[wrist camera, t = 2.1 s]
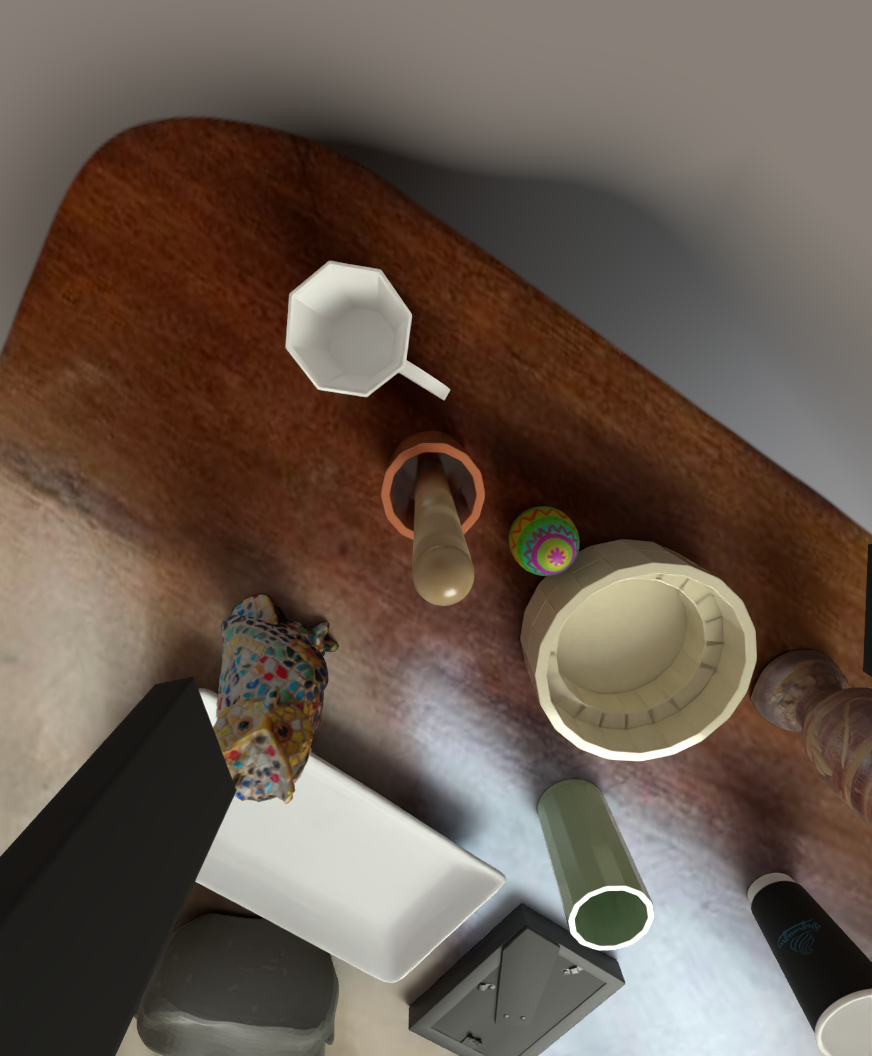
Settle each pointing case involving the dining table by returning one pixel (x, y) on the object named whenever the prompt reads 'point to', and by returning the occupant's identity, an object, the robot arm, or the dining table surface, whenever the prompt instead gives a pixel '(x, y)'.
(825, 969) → the dixie cup
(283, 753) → the figurine
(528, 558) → the egg
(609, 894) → the vase
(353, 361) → the cup
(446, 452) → the holder
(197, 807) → the robot arm
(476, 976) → the picture frame
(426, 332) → the dining table surface
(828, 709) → the mortar and pestle
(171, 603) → the dining table surface
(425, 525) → the stick
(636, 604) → the bowl
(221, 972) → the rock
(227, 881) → the tray
